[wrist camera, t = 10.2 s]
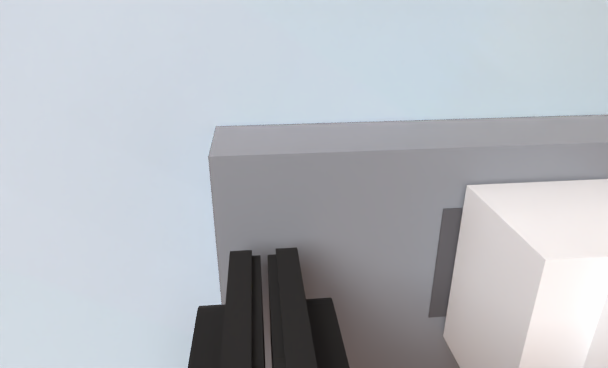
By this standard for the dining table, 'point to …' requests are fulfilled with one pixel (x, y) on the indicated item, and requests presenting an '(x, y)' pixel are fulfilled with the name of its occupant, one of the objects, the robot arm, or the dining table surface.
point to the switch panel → (381, 212)
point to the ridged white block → (531, 276)
